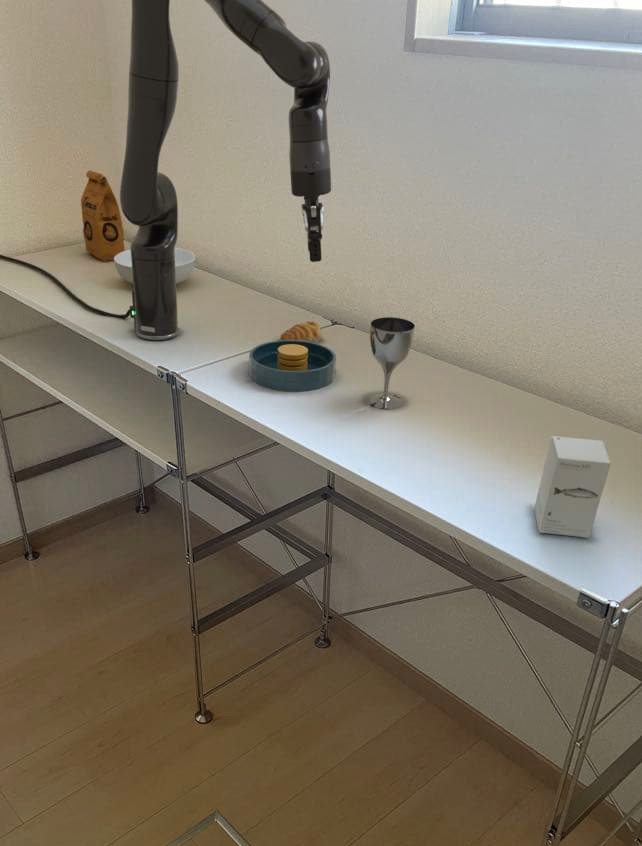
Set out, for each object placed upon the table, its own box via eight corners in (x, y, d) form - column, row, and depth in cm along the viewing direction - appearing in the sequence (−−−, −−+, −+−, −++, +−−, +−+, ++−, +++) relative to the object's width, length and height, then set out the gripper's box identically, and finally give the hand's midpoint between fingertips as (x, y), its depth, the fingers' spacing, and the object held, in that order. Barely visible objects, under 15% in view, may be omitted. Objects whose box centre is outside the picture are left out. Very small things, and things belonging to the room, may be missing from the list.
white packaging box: (537, 534, 120) (556, 457, 113) (533, 508, 126) (550, 433, 119) (590, 540, 119) (612, 462, 112) (583, 513, 125) (603, 438, 118)
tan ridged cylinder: (271, 373, 167) (271, 348, 164) (292, 366, 170) (293, 341, 167) (291, 382, 163) (292, 357, 160) (313, 375, 166) (314, 350, 163)
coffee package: (96, 263, 230) (88, 178, 218) (82, 252, 239) (73, 170, 227) (130, 259, 234) (124, 176, 222) (114, 248, 243) (108, 168, 231)
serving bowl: (154, 267, 229) (152, 241, 225) (212, 281, 219) (211, 255, 215) (98, 284, 214) (96, 257, 211) (158, 301, 204) (157, 272, 201)
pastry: (292, 350, 179) (293, 333, 176) (273, 341, 183) (273, 325, 181) (324, 341, 184) (325, 325, 181) (305, 333, 188) (305, 316, 186)
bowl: (231, 374, 167) (231, 353, 164) (293, 354, 177) (294, 334, 174) (290, 401, 157) (291, 379, 154) (352, 378, 166) (353, 357, 164)
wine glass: (378, 412, 153) (386, 334, 145) (356, 396, 159) (362, 320, 151) (413, 405, 157) (423, 328, 148) (390, 389, 162) (398, 315, 154)
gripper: (289, 163, 160) (294, 250, 168) (290, 173, 148) (296, 266, 156) (328, 160, 160) (331, 247, 168) (332, 170, 147) (336, 263, 156)
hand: (314, 256), depth 162 cm, fingers open, 8 cm apart
